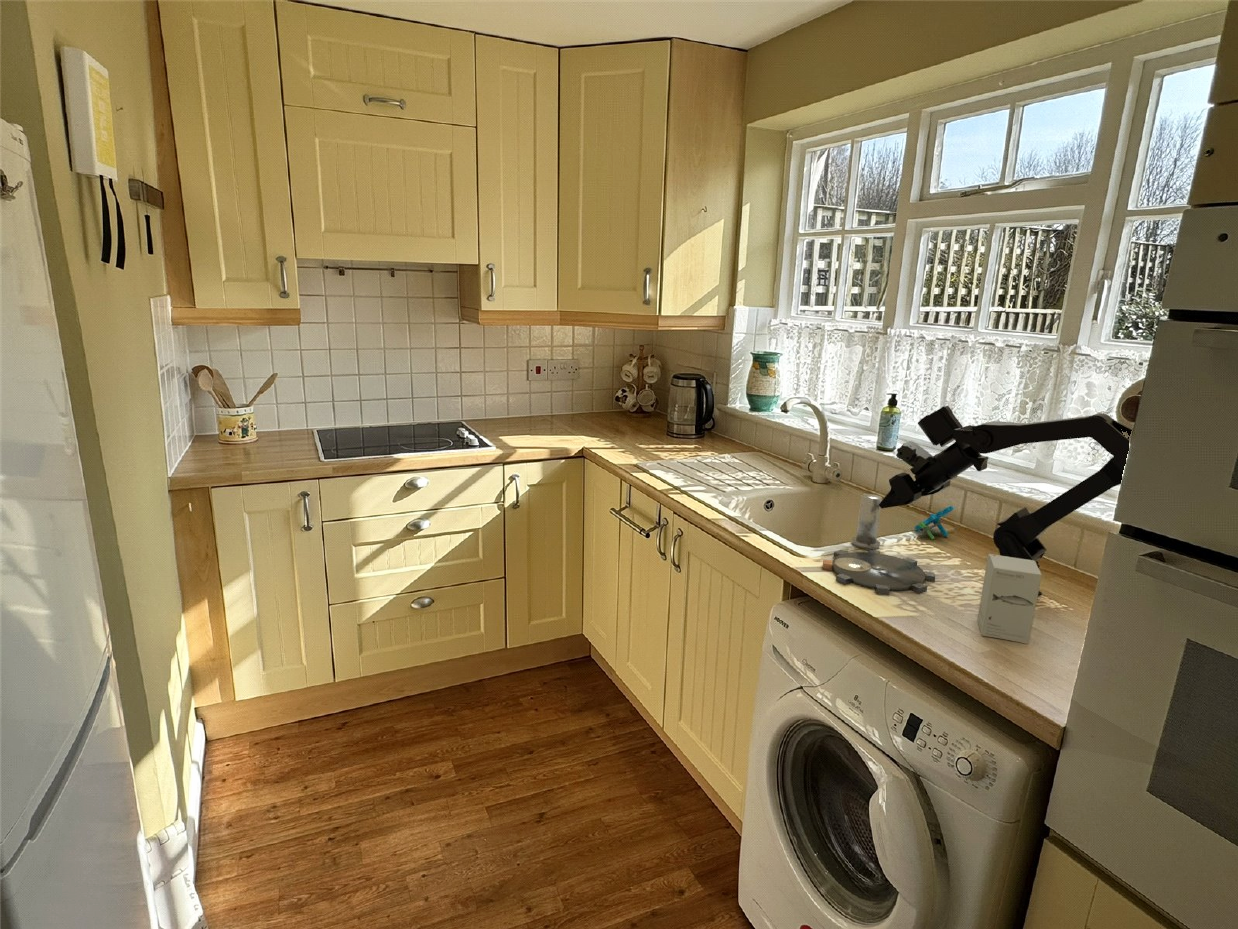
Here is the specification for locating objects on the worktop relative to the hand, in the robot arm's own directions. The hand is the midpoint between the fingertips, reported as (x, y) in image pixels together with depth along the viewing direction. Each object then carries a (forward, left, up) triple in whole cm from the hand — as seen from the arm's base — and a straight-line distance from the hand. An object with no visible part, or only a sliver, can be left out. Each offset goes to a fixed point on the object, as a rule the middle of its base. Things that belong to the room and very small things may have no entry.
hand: (890, 502), depth 159 cm
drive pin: (+4, +3, -11) cm, 12 cm away
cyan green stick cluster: (+11, -17, -11) cm, 23 cm away
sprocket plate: (-13, +8, -11) cm, 19 cm away
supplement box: (-39, -3, -11) cm, 40 cm away
